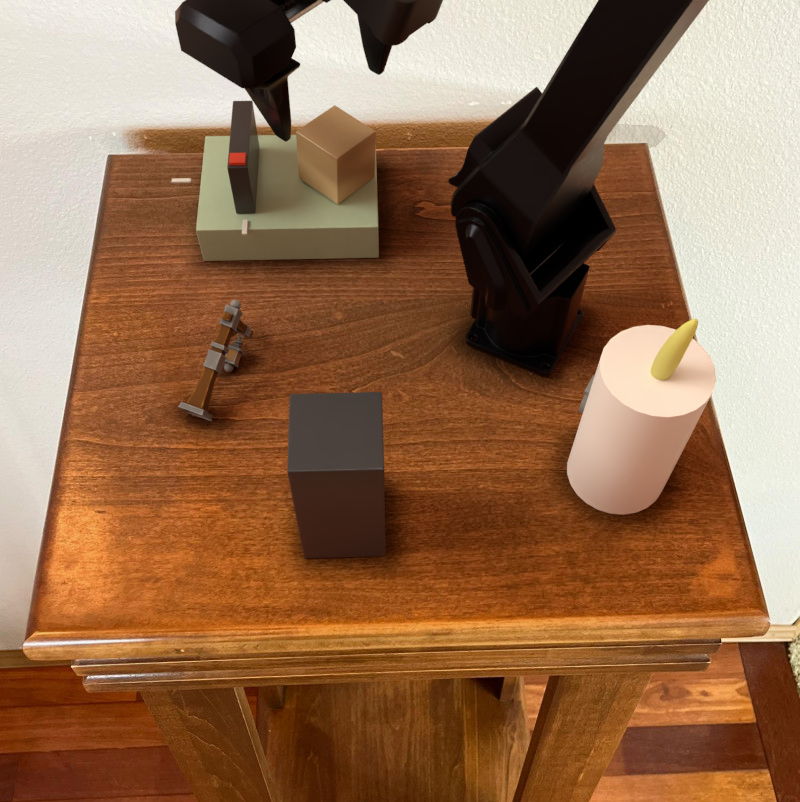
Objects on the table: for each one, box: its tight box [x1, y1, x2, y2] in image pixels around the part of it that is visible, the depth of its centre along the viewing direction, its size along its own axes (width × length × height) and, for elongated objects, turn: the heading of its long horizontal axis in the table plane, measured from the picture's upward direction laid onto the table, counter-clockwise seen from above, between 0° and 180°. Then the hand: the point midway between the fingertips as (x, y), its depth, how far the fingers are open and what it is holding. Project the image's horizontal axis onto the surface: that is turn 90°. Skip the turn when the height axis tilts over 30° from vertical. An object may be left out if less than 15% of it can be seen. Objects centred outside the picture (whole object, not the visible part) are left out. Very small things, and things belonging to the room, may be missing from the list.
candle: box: [566, 318, 717, 516], centre depth 52 cm, size 6×6×15 cm
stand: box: [286, 391, 386, 559], centre depth 52 cm, size 5×5×10 cm
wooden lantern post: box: [177, 299, 254, 422], centre depth 60 cm, size 2×8×4 cm, turn 158°
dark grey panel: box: [227, 100, 260, 214], centre depth 65 cm, size 7×1×4 cm, turn 2°
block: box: [295, 104, 377, 204], centre depth 65 cm, size 4×4×4 cm
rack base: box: [170, 134, 380, 262], centre depth 68 cm, size 15×11×3 cm
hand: (330, 103), depth 61 cm, fingers open, 9 cm apart
